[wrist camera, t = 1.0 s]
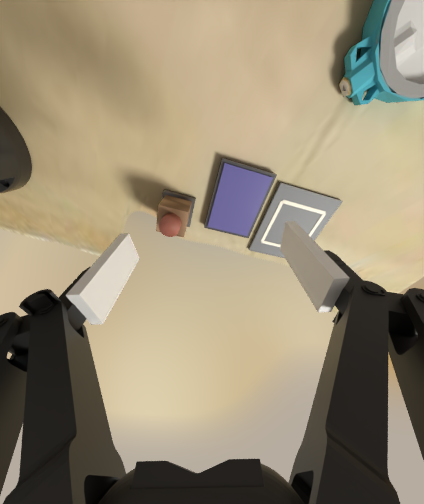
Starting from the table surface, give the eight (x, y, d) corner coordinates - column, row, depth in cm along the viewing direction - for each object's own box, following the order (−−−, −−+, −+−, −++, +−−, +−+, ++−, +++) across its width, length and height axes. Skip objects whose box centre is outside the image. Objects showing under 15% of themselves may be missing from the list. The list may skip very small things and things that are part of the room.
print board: (248, 248, 36) (249, 250, 36) (279, 182, 28) (281, 183, 28) (298, 259, 38) (299, 261, 37) (340, 200, 30) (342, 201, 29)
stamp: (161, 218, 32) (149, 239, 26) (164, 189, 29) (150, 205, 23) (190, 224, 33) (184, 247, 26) (195, 197, 30) (190, 215, 23)
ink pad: (204, 224, 33) (204, 228, 32) (222, 157, 26) (222, 158, 25) (247, 235, 34) (248, 238, 33) (274, 173, 28) (277, 175, 26)
